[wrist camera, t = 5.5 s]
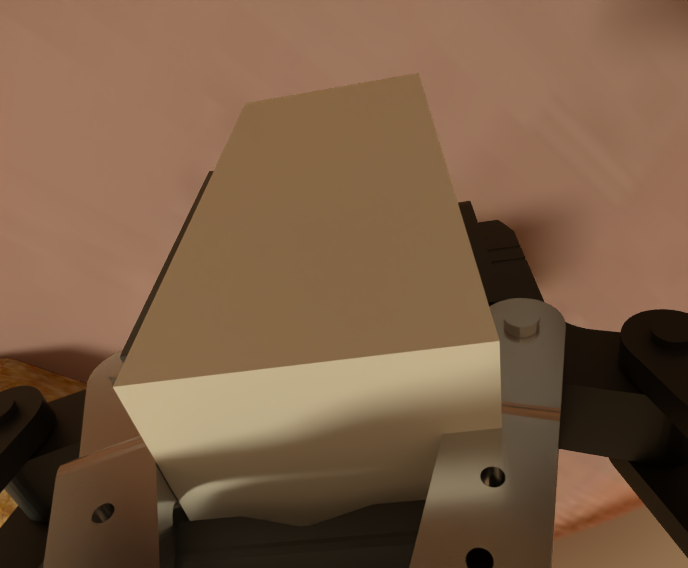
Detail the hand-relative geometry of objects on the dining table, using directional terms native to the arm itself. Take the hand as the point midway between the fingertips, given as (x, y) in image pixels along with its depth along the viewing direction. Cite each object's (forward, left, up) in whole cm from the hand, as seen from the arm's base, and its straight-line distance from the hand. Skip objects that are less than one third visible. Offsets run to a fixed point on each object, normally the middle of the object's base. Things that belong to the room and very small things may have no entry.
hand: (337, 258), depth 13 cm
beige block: (0, 0, -2) cm, 2 cm away
